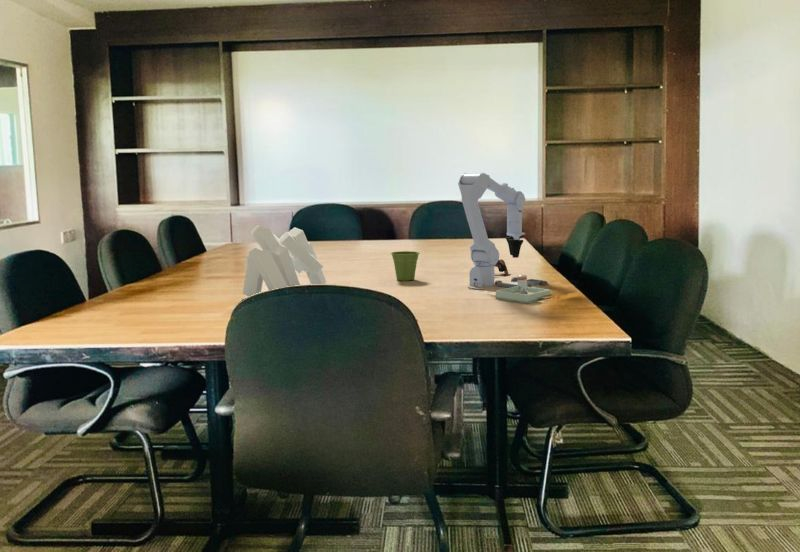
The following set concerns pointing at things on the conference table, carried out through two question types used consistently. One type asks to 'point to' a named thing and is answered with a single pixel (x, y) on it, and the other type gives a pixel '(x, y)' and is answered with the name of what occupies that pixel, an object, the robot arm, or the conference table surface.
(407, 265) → the plant pot
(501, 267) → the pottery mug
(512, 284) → the trolley deck
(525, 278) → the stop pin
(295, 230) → the pile of blocks
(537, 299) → the tray
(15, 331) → the conference table surface
